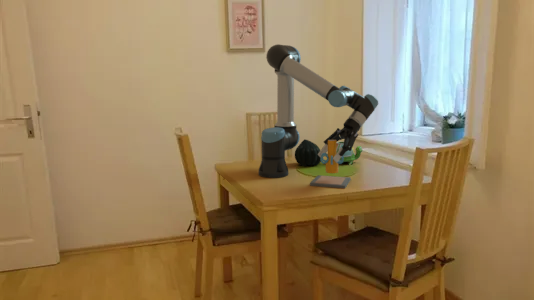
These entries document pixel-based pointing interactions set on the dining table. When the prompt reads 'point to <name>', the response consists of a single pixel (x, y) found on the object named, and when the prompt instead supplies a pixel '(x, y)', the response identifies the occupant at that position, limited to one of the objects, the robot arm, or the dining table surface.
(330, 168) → the tube with blue rings
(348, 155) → the turtle holder
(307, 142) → the squash
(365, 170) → the dining table surface
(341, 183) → the tray
